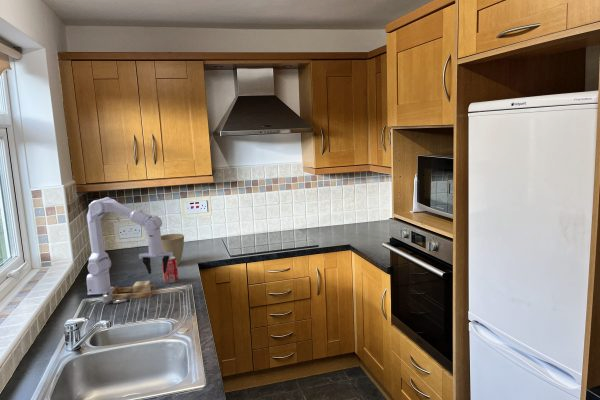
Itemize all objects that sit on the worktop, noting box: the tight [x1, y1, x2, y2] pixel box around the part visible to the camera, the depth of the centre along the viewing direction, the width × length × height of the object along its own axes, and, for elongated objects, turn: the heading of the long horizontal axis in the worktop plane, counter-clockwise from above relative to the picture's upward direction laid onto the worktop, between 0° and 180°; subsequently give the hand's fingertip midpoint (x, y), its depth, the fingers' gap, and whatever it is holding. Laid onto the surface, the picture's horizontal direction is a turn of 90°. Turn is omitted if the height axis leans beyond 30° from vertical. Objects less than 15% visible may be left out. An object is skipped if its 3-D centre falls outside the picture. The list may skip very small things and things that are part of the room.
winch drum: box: [102, 291, 114, 305], centre depth 197 cm, size 4×4×5 cm
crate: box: [132, 280, 152, 293], centre depth 206 cm, size 6×6×5 cm
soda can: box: [161, 256, 179, 284], centre depth 221 cm, size 7×7×12 cm
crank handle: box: [113, 295, 131, 305], centre depth 197 cm, size 7×1×2 cm, turn 115°
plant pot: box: [161, 233, 185, 266], centre depth 249 cm, size 15×15×16 cm
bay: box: [109, 284, 157, 301], centre depth 206 cm, size 18×10×3 cm, turn 95°
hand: (157, 272), depth 205 cm, fingers open, 6 cm apart
